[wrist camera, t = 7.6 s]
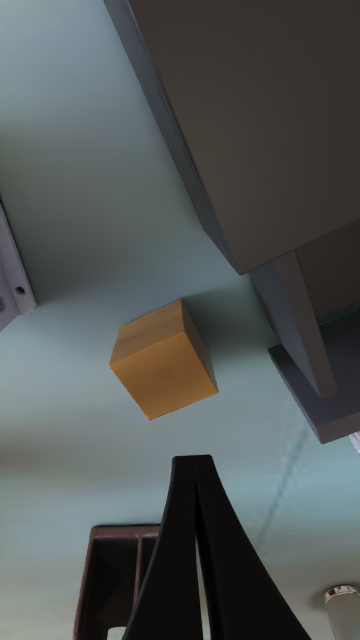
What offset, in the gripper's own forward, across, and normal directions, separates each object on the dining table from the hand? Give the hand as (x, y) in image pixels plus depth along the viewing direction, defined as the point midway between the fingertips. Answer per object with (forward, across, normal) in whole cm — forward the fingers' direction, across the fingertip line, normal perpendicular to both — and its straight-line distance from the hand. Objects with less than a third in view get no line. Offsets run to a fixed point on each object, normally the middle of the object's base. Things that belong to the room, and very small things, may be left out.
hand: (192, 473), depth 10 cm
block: (+10, +1, 0) cm, 10 cm away
